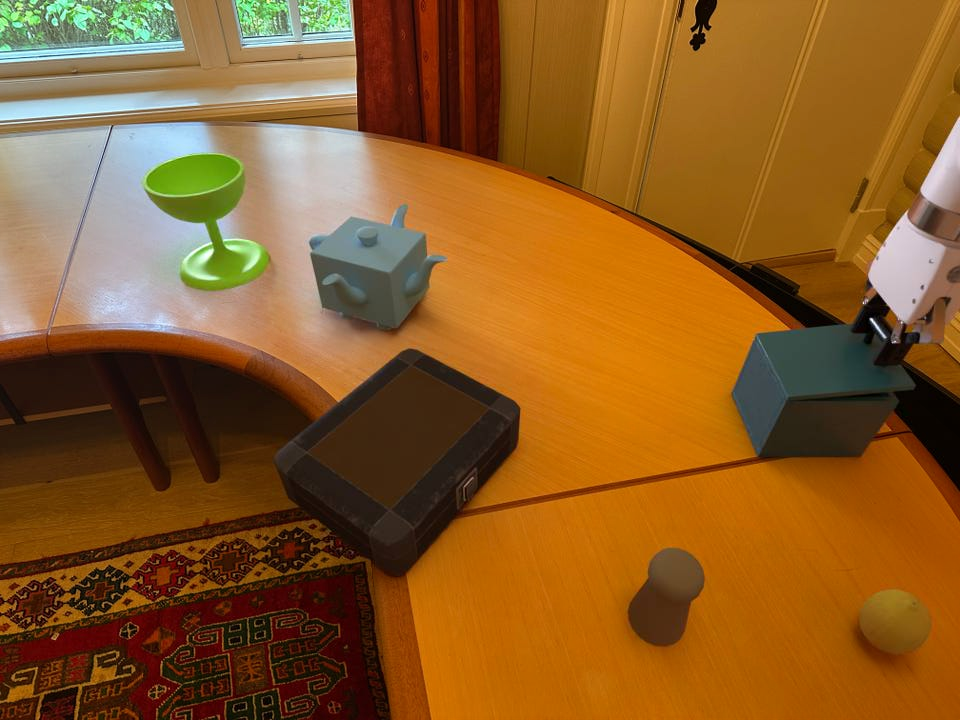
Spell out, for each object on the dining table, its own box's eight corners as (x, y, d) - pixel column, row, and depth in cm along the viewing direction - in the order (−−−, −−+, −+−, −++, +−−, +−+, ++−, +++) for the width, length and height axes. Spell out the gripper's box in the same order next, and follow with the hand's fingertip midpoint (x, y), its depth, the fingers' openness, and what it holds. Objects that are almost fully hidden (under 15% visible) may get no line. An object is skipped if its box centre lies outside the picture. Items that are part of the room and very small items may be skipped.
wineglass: (202, 239, 119) (170, 150, 106) (281, 243, 117) (258, 154, 105) (163, 287, 107) (121, 194, 95) (250, 293, 106) (220, 199, 93)
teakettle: (314, 289, 107) (296, 214, 97) (415, 265, 112) (408, 192, 102) (339, 356, 94) (321, 278, 84) (451, 325, 99) (448, 249, 89)
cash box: (402, 588, 67) (396, 552, 61) (280, 495, 75) (265, 457, 70) (527, 444, 81) (530, 405, 76) (412, 380, 90) (408, 342, 85)
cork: (616, 602, 65) (634, 550, 58) (663, 581, 67) (686, 528, 60) (649, 656, 61) (672, 608, 54) (697, 632, 63) (727, 582, 56)
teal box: (823, 393, 88) (855, 337, 81) (860, 457, 80) (899, 401, 72) (730, 393, 88) (754, 337, 81) (757, 457, 80) (786, 401, 72)
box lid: (867, 326, 79) (880, 293, 76) (913, 389, 71) (931, 356, 67) (754, 337, 81) (761, 306, 77) (786, 401, 72) (796, 369, 69)
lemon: (891, 678, 60) (933, 645, 54) (837, 635, 63) (871, 600, 57) (914, 640, 63) (956, 606, 57) (860, 601, 66) (895, 564, 60)
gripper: (1045, 262, 56) (942, 398, 68) (942, 176, 68) (871, 304, 80) (964, 262, 56) (875, 398, 68) (876, 176, 68) (814, 304, 80)
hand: (873, 346), depth 74 cm, fingers closed on box lid, 5 cm apart
